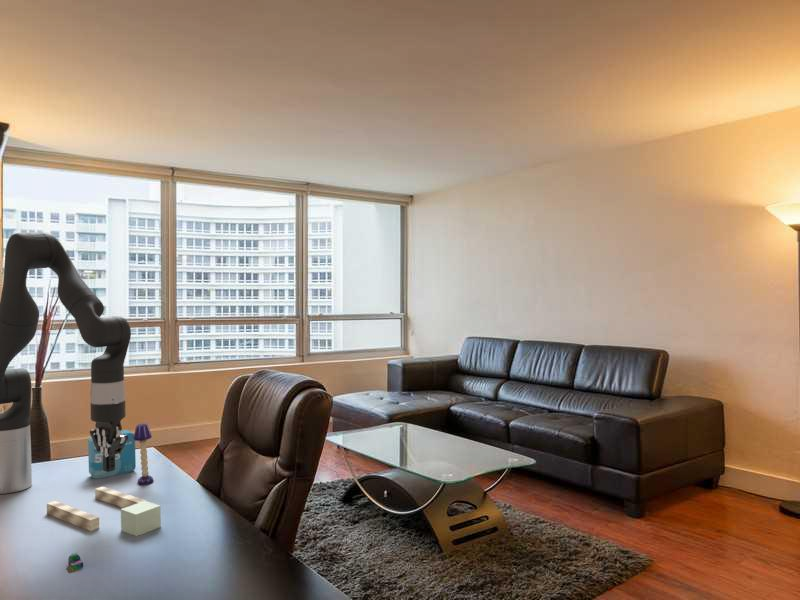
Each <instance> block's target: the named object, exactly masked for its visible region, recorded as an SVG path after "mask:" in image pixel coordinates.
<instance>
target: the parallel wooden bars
mask: <svg viewBox="0 0 800 600" xmlns="http://www.w3.org/2000/svg"><path fill="white" fill-rule="evenodd" d="M94 495H95V496H94V497H95V499H97V500H100V501H102V502H105V503H108V504H112V505H115V506H116V507H117V506H118V507H119V508H122V509H123V508H126V507H129V506H131V505H134V504H137V503H140V502H143V501H147V502H148V500H147V499H142V498H141V497H137V496H133V495H130V494H128V493H124V492H121V491H118V490H115V489H111V488H108V487H105V486H100V487H96V488H94ZM46 514H47V515H49V516H52V517H55V518H57V519H59V520H63V521H65V522H67V523H70V524H72V525H74V526H77V527H80V528H83V529H85V530H88V531H90V532H92V531H95V530H97V529H100V517H99V516H97V515H95V514H92V513H89V512H86V511H84V510H82V509H78V508H75V507H72V506H70V505H68V504H65V503H62V502H59V501H57V500H53V501H50V502H47V503H46Z"/></svg>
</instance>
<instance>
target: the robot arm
mask: <svg viewBox="0 0 800 600" xmlns="http://www.w3.org/2000/svg"><path fill="white" fill-rule="evenodd" d="M47 268H48V269H50V270H51V271H53V272H54V273H55V275H57V277H58V283H57V296H58V299H59V301H60V302H61V304H62V305H63V307H64V308H65V309H66V310H67V311H68V312H69V314H70V315H71V316H72V317H73V318H74V320H75V322H76V323H75V324H76V325H77V328H78V331H79V334H80V337H81V339H82V340H83V341H84V342H85V343H86V344H87V345H88V346H90V347H92V348H104V347H105V348H104V349H105V350H104V352H103V353H102V354H101V355H99V356H97V357H95V358H93V359H92V361H91V363H90V364H91V365H90V376H91V377H90V379H91V380H90V381H91V383H90V390H89V392H90V393H89V395H90V398H89V399H90V401H89V404H90V420H91V421H92V422H95V427H94V428H93V429H90V430H89V435H90V437H92V440H93V442H94V445H95V447H96V450H97V452H101V455H102V456H103V471H106V472H110V471H113V470H115V455H116V454H119V453H121V451H122V450H123V448H124V446H125V444H126V442H127V440H128V436H127V435H123V434H122V432H121V431H123V429H122V428H123V427H122V424H121V421H122V420H123V419H124V418H126V416H127V415H126V386H125V370H124V369H125V366H124V365H125V360H126V357H127V353H128V348H129V345H130V342H131V335H132V329H131V326H130V323H129V322H128V321H127V319H125V318H124V317H122V316H115V315H114V316H104V317H102V315H103V313H104V311H105V307H104V306H105V305H104V304H103V302H102V301H101V300H100V298H98V296H97V295H96V293H94V291H92V289H90V287H89V286H88V284H87V283H85V281H84V280H83V278H82V277H81V276H80V273H79V272H78V270H77V269H76V266H75V265H74V263H73V261H72V260H71V258H70V256H69V254H68V253H67V251H66V250H65V248H64V246H63V244H62V243H61V242H60V241H59V238H57V237H56V236H55V235H54V234H52V233H49V232H43V231H41V232H39V231H38V232H36V231H35V232H16V233H13V234H11V235H10V236H9V238H8V239H7V242H6V247H5V255H4V268H3V281H2V282H3V283H2V290H1V296H0V405H4V404H11V403H12V404H11V406H10V407H9V408H8V409H7V410H5V411H3V412H2V413H1V414H0V495H2V494H3V495H4V494H12V493H16V492H20V491H24V490H26V489H29V488H30V487H31V486H32V485H33V483H32V482H33V480H32V476H33V475H32V474H33V473H32V468H33V467H32V440H31V439H32V437H31V416H32V415H31V414H32V406H31V405H32V378H31V375H30V373H29V371H28V369H26V368H12V369H8V366H9V365H10V363H11V362H12V361H13V359H15V357H17V355H18V354H20V353H21V352H22V351H23V350H24V349H25V348H26V347H27V346H28V345H29V344H30V342H31V341H32V340H33V339H34V338H35V335H36V333H37V328H38V324H39V319H40V309H39V307H38V305H37V302H35V300H34V298H33V296H32V295H31V293H30V291H29V289H28V287H27V278H28V277H27V276H28V272H29V270H39V269H47Z"/></svg>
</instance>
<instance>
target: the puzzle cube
mask: <svg viewBox="0 0 800 600" xmlns="http://www.w3.org/2000/svg"><path fill="white" fill-rule="evenodd" d="M82 568H84V562H83V560H82V558H81V556H80V555H79V554H78V553H77V552H75V553H71V554H70V555H69V557H68V566H67V567H66V568H65V569H66V571H67V573H68V574H70V573H74V572H77V571H79V569H82Z"/></svg>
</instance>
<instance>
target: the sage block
mask: <svg viewBox="0 0 800 600" xmlns="http://www.w3.org/2000/svg"><path fill="white" fill-rule="evenodd" d="M161 513H162V512H161V505H159V504H156V503H153V502H151V501H150V502H149V501H148V500H147V501H143V502H140V503H137V504H134V505H131V506H129V507H126V508H123V507H122V508H121V509H120V529H121V531H122V532H124V533H127V534H130V535H132V536H134V535H135V537H138V535H139V536H141V535H143V534H146V533H149V532H150V531H153V530H154V531H155V530H157V529H159V528H161V526H162V521H161V520H162V519H161V518H162V517H161Z"/></svg>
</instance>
